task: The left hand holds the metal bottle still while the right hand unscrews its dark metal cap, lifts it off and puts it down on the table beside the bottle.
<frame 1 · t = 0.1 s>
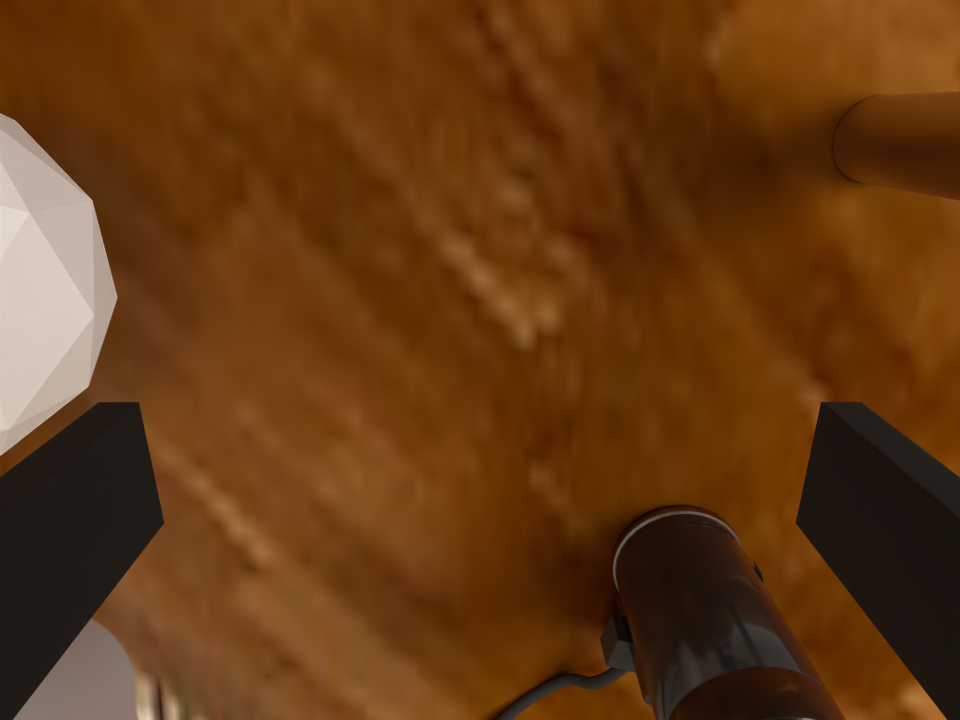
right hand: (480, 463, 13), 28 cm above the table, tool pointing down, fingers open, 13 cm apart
sphere: (14, 240, 39), on the table
bottle: (873, 139, 37), on the table
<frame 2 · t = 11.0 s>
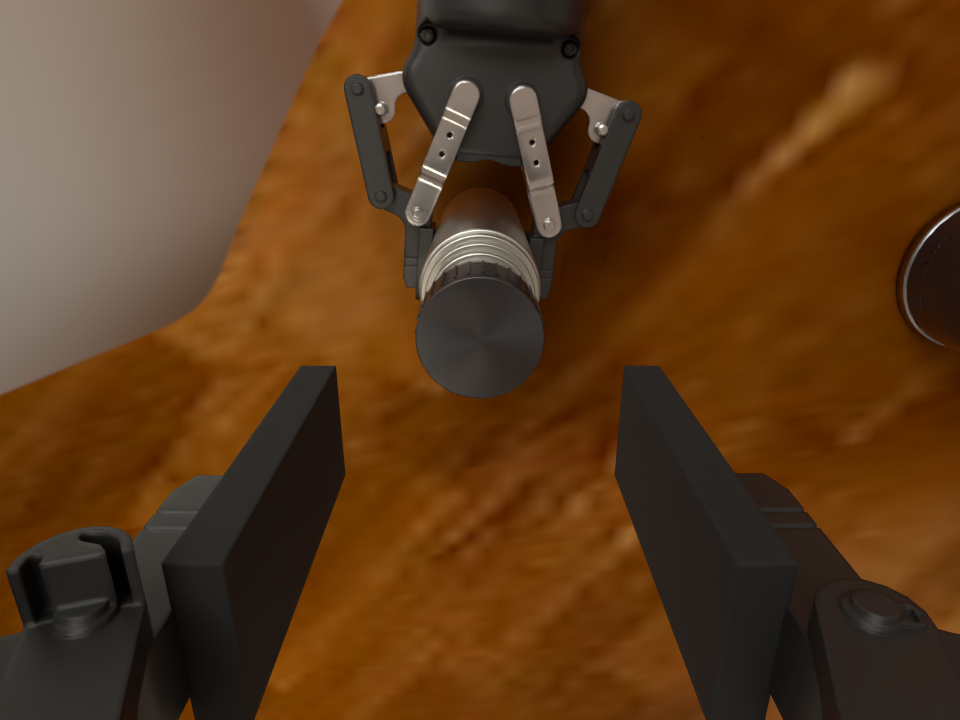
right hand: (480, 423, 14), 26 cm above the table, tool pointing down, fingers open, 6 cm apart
left hand: (476, 299, 33), fingers closed on bottle, 4 cm apart
cap: (479, 336, 20), point 20 cm above the table, screwed on, not yet turned
bottle: (480, 227, 39), on the table, touching left hand
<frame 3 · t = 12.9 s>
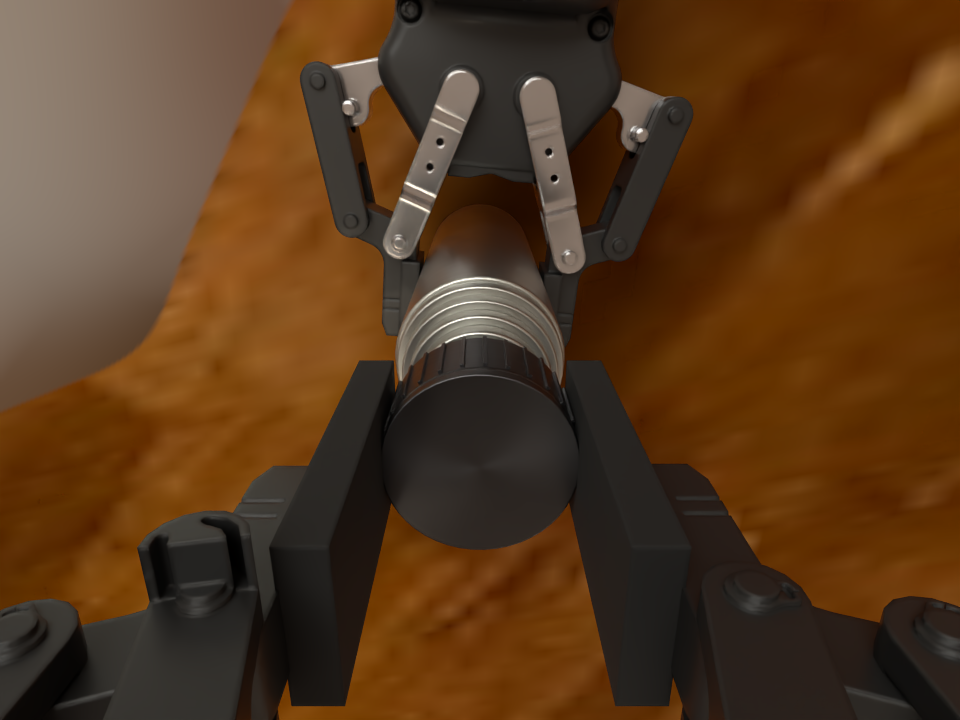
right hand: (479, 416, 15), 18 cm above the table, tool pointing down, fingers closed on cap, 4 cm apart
left hand: (475, 348, 26), fingers closed on bottle, 4 cm apart
cap: (480, 459, 13), point 20 cm above the table, screwed on, not yet turned, touching right hand
bottle: (480, 253, 32), on the table, touching left hand
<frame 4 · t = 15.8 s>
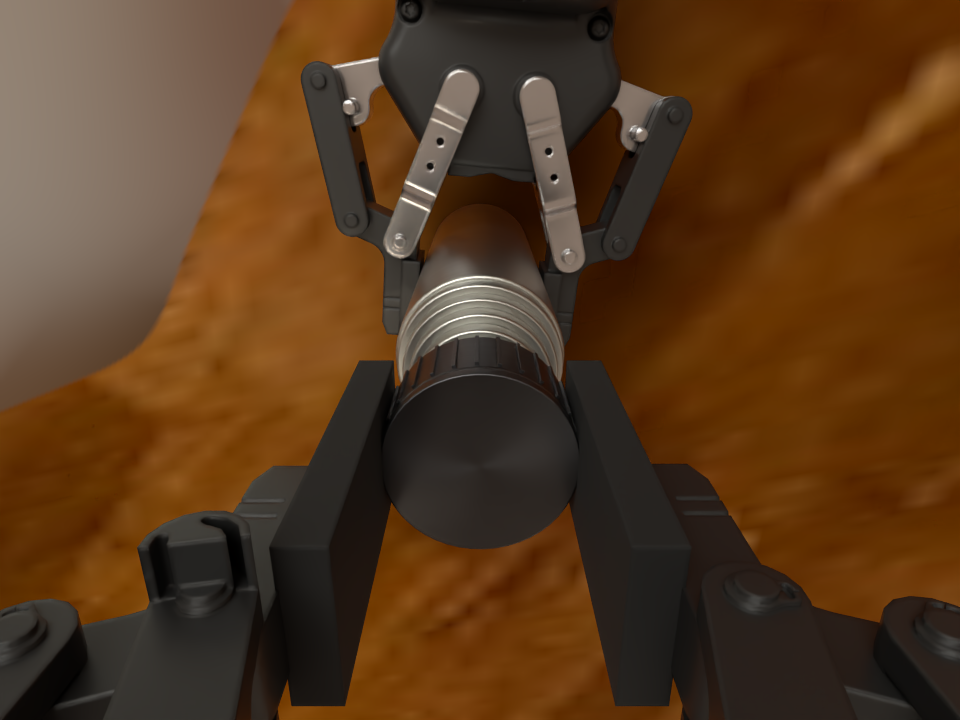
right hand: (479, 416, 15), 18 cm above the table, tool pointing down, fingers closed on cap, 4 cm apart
left hand: (475, 347, 27), fingers closed on bottle, 4 cm apart
cap: (480, 458, 13), point 20 cm above the table, turned 82° so far, risen 0.1 cm, still on its thread, touching right hand
bottle: (480, 252, 32), on the table, touching left hand
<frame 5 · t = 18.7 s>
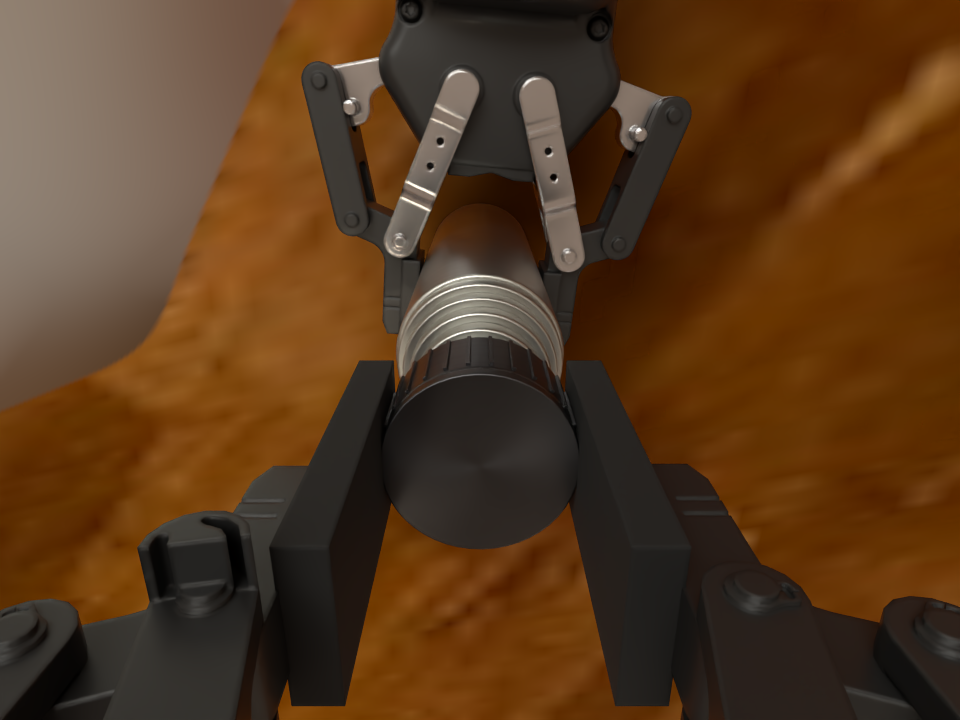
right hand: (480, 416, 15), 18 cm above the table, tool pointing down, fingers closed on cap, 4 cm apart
left hand: (475, 346, 27), fingers closed on bottle, 4 cm apart
cap: (480, 459, 13), point 20 cm above the table, turned 164° so far, risen 0.2 cm, still on its thread, touching right hand
bottle: (480, 252, 32), on the table, touching left hand
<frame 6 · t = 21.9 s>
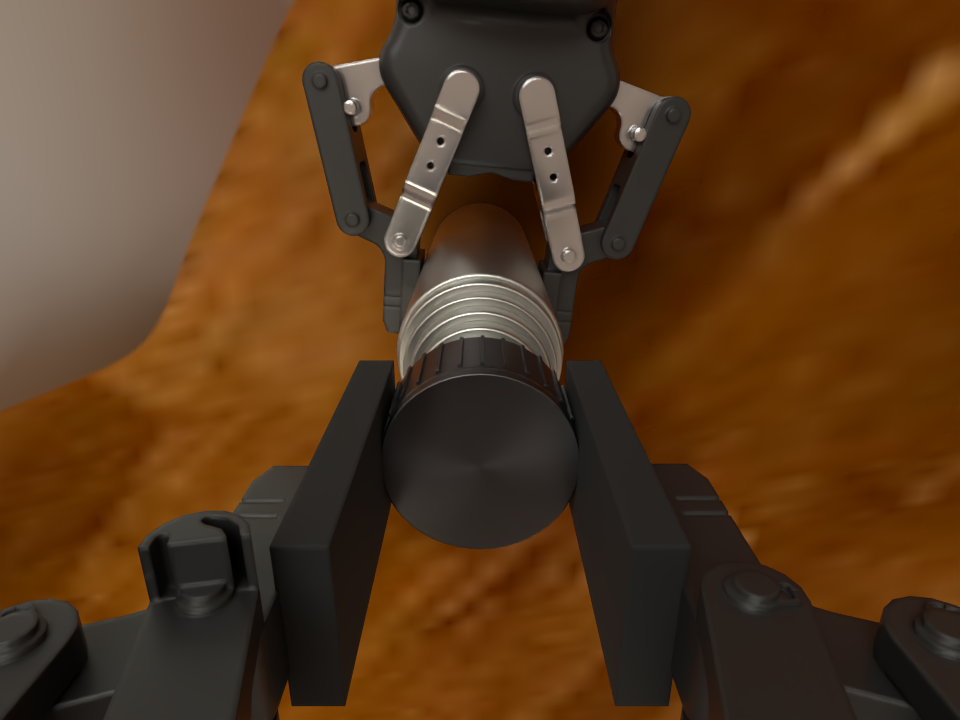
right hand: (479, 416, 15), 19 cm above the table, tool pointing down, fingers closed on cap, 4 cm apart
left hand: (475, 345, 27), fingers closed on bottle, 4 cm apart
cap: (480, 458, 13), point 20 cm above the table, turned 246° so far, risen 0.3 cm, still on its thread, touching right hand
bottle: (480, 251, 32), on the table, touching left hand
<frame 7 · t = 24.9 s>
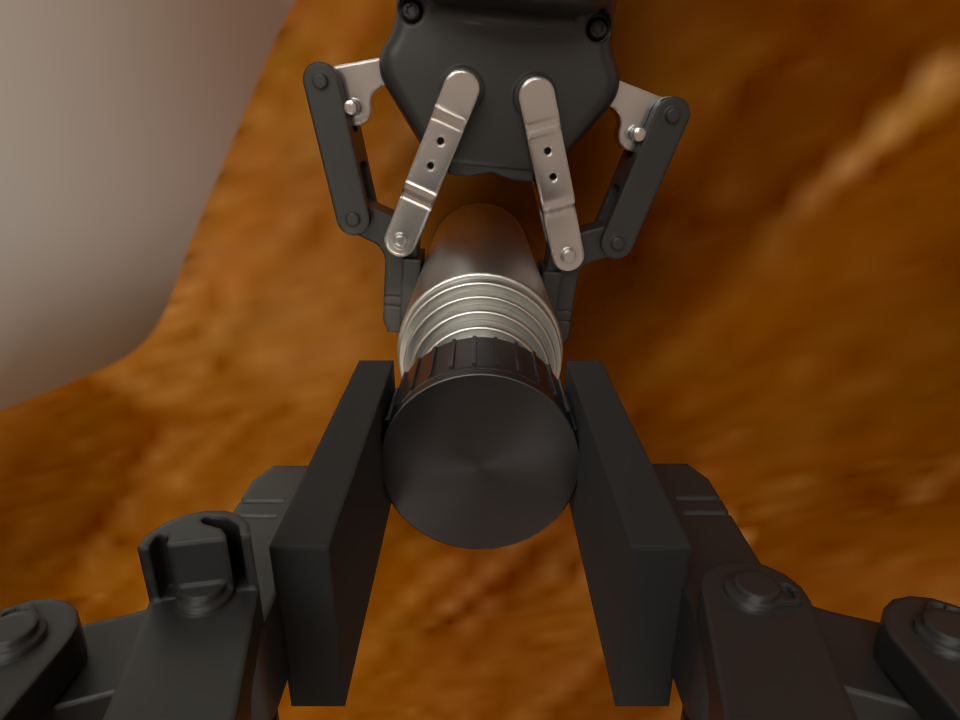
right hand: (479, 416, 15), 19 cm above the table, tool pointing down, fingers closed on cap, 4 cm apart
left hand: (475, 345, 27), fingers closed on bottle, 4 cm apart
cap: (480, 459, 13), point 21 cm above the table, turned 328° so far, risen 0.4 cm, still on its thread, touching right hand
bottle: (480, 251, 32), on the table, touching left hand
when the right hand's fingers open (2 cm above the table, at t = 30.9 s): cap drops 2 cm, point 2 cm above the table.
when the left hand's fingers open (7 cm above the table, at t = 32.2 s): bottle stays where it is, on the table.
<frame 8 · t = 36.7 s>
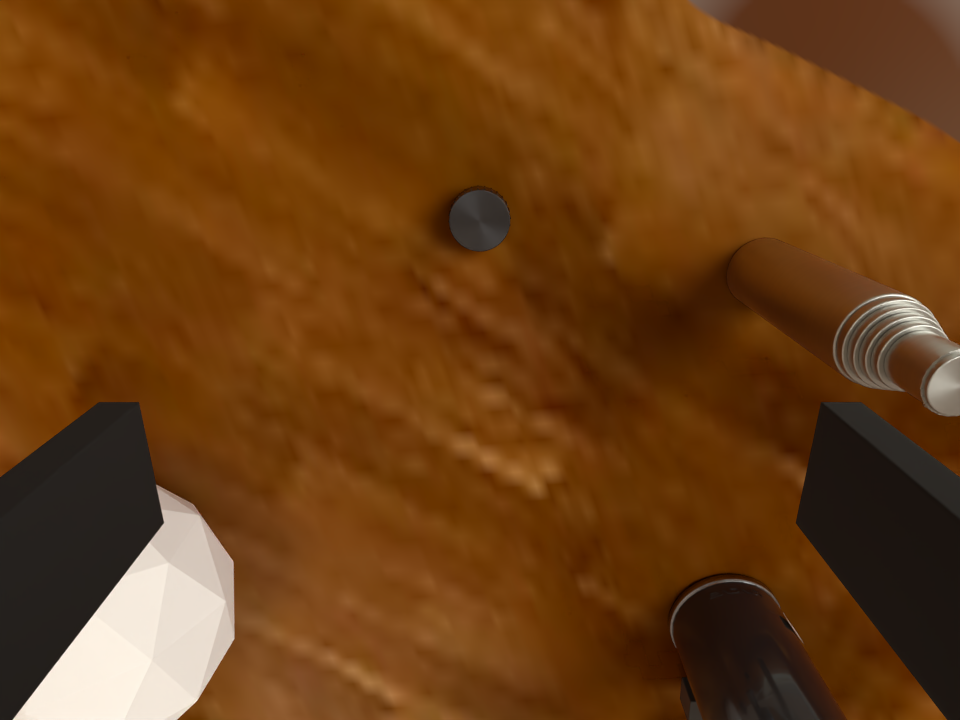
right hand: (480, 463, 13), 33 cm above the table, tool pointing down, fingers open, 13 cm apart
sphere: (150, 532, 53), on the table
cap: (479, 220, 42), point 2 cm above the table, off its thread
bottle: (760, 271, 45), on the table
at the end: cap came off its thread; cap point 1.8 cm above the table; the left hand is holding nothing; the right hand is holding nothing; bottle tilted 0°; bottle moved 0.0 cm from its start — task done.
